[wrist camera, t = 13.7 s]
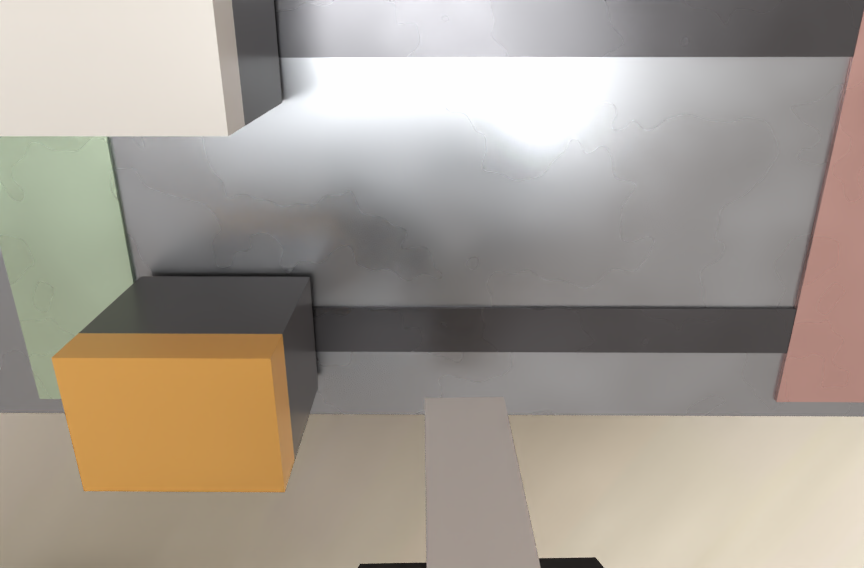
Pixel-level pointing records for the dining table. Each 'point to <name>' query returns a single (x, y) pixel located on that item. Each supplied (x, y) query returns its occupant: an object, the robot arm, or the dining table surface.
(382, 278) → the panel
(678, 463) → the dining table surface
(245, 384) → the block
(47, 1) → the block
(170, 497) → the dining table surface
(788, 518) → the dining table surface
